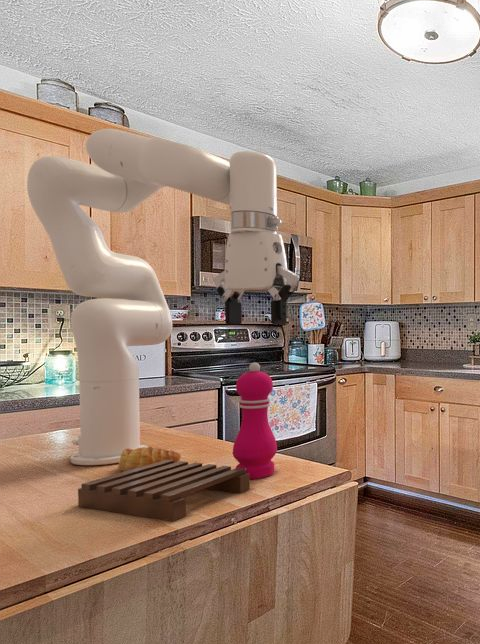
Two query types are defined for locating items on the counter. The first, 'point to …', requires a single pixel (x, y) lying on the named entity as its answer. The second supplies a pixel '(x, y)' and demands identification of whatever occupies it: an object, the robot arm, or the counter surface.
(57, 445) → the counter surface
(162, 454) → the pastry
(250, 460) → the pepper mill
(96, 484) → the rack
